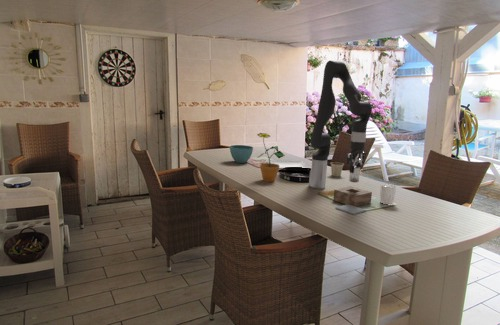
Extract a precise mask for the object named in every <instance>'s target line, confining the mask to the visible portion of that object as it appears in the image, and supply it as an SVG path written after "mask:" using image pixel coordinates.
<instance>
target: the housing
mask: <svg viewBox="0 0 500 325" xmlns="http://www.w3.org/2000/svg"><path fill="white" fill-rule="evenodd" d="M372 193H373V192H372V191H368V190H365V189H363V188H358V187H354V186H351V185H350V186H345V187H339V188H335V189H333V198H332V199H333V202H338V203H341V202H343V203H342V204H344V203H346V204H349V205H353V206H357V207H359V206H358V205H361V206H363V205H362V204H365V203H369V202H371V203H372V196H373V194H372ZM346 204H345V205H346ZM369 204H370V203H369ZM365 205H366V204H365Z"/></svg>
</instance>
